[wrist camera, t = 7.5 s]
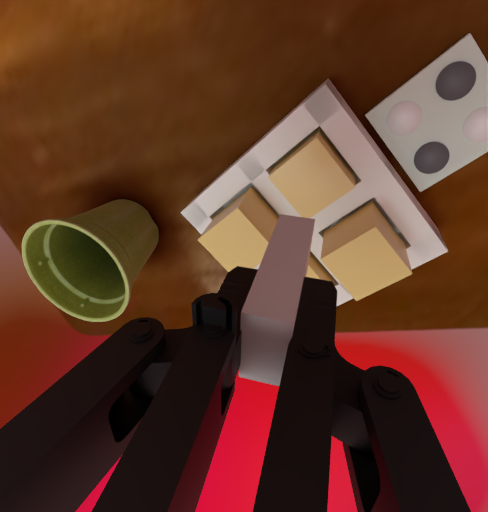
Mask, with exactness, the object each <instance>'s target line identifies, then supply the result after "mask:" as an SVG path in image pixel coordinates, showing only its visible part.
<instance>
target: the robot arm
mask: <svg viewBox="0 0 488 512" xmlns="http://www.w3.org/2000/svg"><path fill="white" fill-rule="evenodd" d="M314 224H315V219H311V218H304V217H297V216H290V215H283V214H280V216H279V219H278V221H277V224H276V226H275V229H274V231H273V234H272V236H271V239H270V241H269V244H268V246H267V249H266V251H265V254H264V256H263V259H262V261H261V264H260V266H259V269H252V268H246V267H240V266H237V267H235V268H234V269H232V270H231V271H230V272H228V274H227V276H226V278H225V280H224V282H223V283H222V285H221V287H220V290H219V291H218V293H210V294H205V295H202V296H200V297H198V298H196V299H195V300H194V302H193V303H192V317H193V326H192V327H188V328H183V329H168V330H165V329H164V327H163V325H162V323H161V322H159V321H158V320H157V319H153V318H149V317H147V318H138V319H134V320H131V321H130V322H128V323H126V324H125V325H123V326H122V327H121V328H120V329H119V330H117V331H116V332H115V333H114V334H113V335H111V336H110V337H109V338H108V339H107V340H106V341H104V342H103V343H102V344H101V345H100V346H98V347H97V348H96V349H95V350H94V351H93V352H91V353H90V354H89V355H88V356H87V357H85V358H84V359H83V360H82V361H81V362H80V363H78V364H77V365H76V366H75V367H74V368H72V369H71V370H70V371H69V372H68V373H66V374H65V375H64V376H63V377H62V378H60V379H59V380H58V381H57V382H56V383H54V384H53V385H52V386H51V387H50V388H48V389H47V390H46V391H45V392H44V393H43V394H41V395H40V396H39V397H38V398H37V399H36V400H34V401H33V402H32V403H31V404H30V405H28V406H27V407H26V408H25V409H24V410H22V411H21V412H20V413H19V414H18V415H16V416H15V417H14V418H13V419H12V420H10V421H9V422H8V423H7V424H6V425H4V426H3V427H2V428H1V429H0V512H75V511H76V510H77V509H78V508H79V506H80V505H81V504H82V503H83V502H84V500H85V499H86V498H87V497H88V495H89V494H90V493H91V492H92V491H93V489H94V488H95V487H96V485H98V483H99V482H100V481H101V480H102V478H103V477H104V476H105V475H106V474H107V472H108V471H109V470H110V469H111V467H112V466H113V465H114V464H115V463H116V462H117V460H118V459H119V458H120V457H121V455H122V454H123V455H122V457H121V459H120V460H119V462H118V464H117V466H116V468H115V470H114V472H113V473H112V475H111V477H110V479H109V481H108V482H107V484H106V486H105V488H104V490H103V492H102V494H101V495H100V497H99V499H98V501H97V503H96V505H95V506H94V508H93V510H92V512H195V510H196V507H197V504H198V501H199V498H200V495H201V492H202V489H203V485H204V483H205V479H206V477H207V473H208V471H209V468H210V464H211V461H212V458H213V455H214V452H215V449H216V446H217V443H218V440H219V437H220V434H221V431H222V427H223V425H224V422H225V419H226V415H227V412H228V409H229V406H230V403H231V400H232V397H233V394H234V390H235V378H236V375H237V372H238V370H239V377H243V378H247V379H251V380H255V381H260V382H264V383H268V384H272V385H277V386H279V391H278V395H277V400H276V405H275V410H274V415H273V419H272V424H271V429H270V433H269V438H268V443H267V447H266V452H265V457H264V462H263V466H262V472H261V476H260V481H259V485H258V490H257V495H256V500H255V504H254V509H253V512H327V503H328V485H329V468H330V449H331V435H332V436H334V437H335V438H337V439H338V440H340V441H342V442H343V447H344V452H345V456H346V461H347V465H348V470H349V474H350V479H351V484H352V488H353V493H354V497H355V502H356V506H357V511H358V512H471V511H470V509H469V507H468V504H467V502H466V500H465V498H464V496H463V493H462V491H461V489H460V487H459V484H458V482H457V480H456V478H455V476H454V473H453V471H452V469H451V467H450V465H449V463H448V460H447V458H446V456H445V454H444V451H443V449H442V447H441V445H440V443H439V440H438V438H437V436H436V434H435V432H434V429H433V427H432V425H431V423H430V421H429V419H428V416H427V414H426V412H425V410H424V408H423V405H422V403H421V401H420V399H419V397H418V394H417V392H416V390H415V388H414V386H413V385H412V383H411V382H410V380H409V379H408V378H406V377H405V376H404V375H403V374H402V373H401V372H398V371H397V370H394V369H392V368H390V367H385V366H374V367H370V368H369V369H367V370H365V371H364V370H362V369H360V368H358V367H356V366H354V365H352V364H350V363H349V362H347V361H346V360H345V359H344V358H343V357H341V355H340V354H339V353H338V351H337V349H336V347H335V341H334V339H335V323H336V306H337V289H336V288H335V286H334V284H333V282H332V281H327V280H321V279H315V278H310V277H306V275H307V269H308V262H309V256H310V250H311V243H312V237H313V230H314Z"/></svg>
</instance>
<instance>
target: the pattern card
mask: <svg viewBox="0 0 488 512" xmlns="http://www.w3.org/2000/svg"><path fill="white" fill-rule="evenodd" d="M365 116H366V118H367V119H368V120H369V122H370V123H371V125H372V126H373V127H374V129H375V130H376V132H377V133H378V134H379V136H380V137H381V138H382V140H383V141H384V143H385V144H386V145H387V147H388V148H389V150H390V151H391V152H392V154H393V155H394V157H395V158H396V159H397V161H398V162H399V163H400V165H401V166H402V168H403V169H404V170H405V172H406V173H407V175H408V176H409V177H410V179H411V180H412V182H413V183H414V184H415V186H416V187H417V188H418V190H419V191H420V192H422V191H423V190H425V189H427V188H428V187H430V186H432V185H433V184H435V183H437V182H438V181H440V180H442V179H443V178H445V177H447V176H448V175H450V174H452V173H453V172H455V171H457V170H458V169H460V168H462V167H463V166H465V165H467V164H468V163H470V162H472V161H473V160H475V159H477V158H478V157H480V156H481V155H483V154H485V153H486V152H488V62H487V60H486V59H485V57H484V55H483V54H482V52H481V50H480V49H479V47H478V45H477V44H476V42H475V40H474V39H473V37H472V35H471V33H468V34H467V35H466V36H464V37H463V38H462V39H460V40H459V41H458V42H457V43H455V44H454V45H453V46H452V47H450V48H449V49H448V50H446V51H445V52H444V53H443V54H441V55H440V56H439V57H437V58H436V59H435V60H434V61H432V62H431V63H430V64H429V65H427V66H426V67H425V68H423V69H422V70H421V71H420V72H418V73H417V74H416V75H414V76H413V77H412V78H411V79H409V80H408V81H407V82H406V83H404V84H403V85H402V86H400V87H399V88H398V89H397V90H395V91H394V92H393V93H391V94H390V95H389V96H388V97H386V98H385V99H384V100H383V101H381V102H380V103H379V104H377V105H376V106H375V107H374V108H372V109H371V110H370V111H368V112H367V113H366V114H365Z"/></svg>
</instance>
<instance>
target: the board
mask: <svg viewBox="0 0 488 512" xmlns="http://www.w3.org/2000/svg"><path fill="white" fill-rule="evenodd" d="M318 126H320V127H321V128H322V130H323V131H324V132H325V134H326V135H327V136H328V138H329V139H330V140H331V142H332V143H333V144H334V145H335V147H336V148H337V149H338V151H339V152H340V153H341V155H342V156H343V157H344V159H345V160H346V161H347V162H348V164H349V165H350V166H351V168H352V169H353V170H354V172H355V188H354V189H352V190H351V191H349V192H348V193H346V194H345V195H343V196H342V197H340V198H339V199H337V200H336V201H334V202H333V203H331V204H330V205H328V206H327V207H326V208H324V209H323V210H321V211H320V212H318V213H317V214H315V215H314V216H312V217H311V219H315V224H314V230H313V237H312V243H311V250H310V251H311V252H312V253H313V254H314V255H315V257H316V258H317V259H318V260H319V261H320V262H321V263H322V265H323V266H324V267H325V268H326V269H327V270H328V272H329V273H330V274H331V275H332V276H333V277H334V286H335V288H336V289H337V306H338V305H340V304H342V303H344V302H346V301H348V300H350V299H353V297H352V295H351V294H350V293H349V292H348V291H347V290H346V288H345V287H344V286H343V285H342V284H341V283H340V281H339V280H338V279H337V278H336V277H335V276H334V275H333V273H332V272H331V271H330V270H329V269H328V268H327V266H326V265H325V264H324V263H323V262H322V261H321V259H320V258H321V251H322V244H323V236H324V231H326V230H327V229H329V228H331V227H332V226H334V225H335V224H337V223H338V222H340V221H342V220H343V219H345V218H346V217H348V216H350V215H351V214H353V213H354V212H356V211H357V210H359V209H361V208H362V207H364V206H365V205H367V204H368V203H370V202H372V201H373V203H374V204H375V205H376V207H377V208H378V209H379V211H380V212H381V213H382V214H383V216H384V217H385V218H386V220H387V221H388V222H389V224H390V225H391V226H392V227H393V229H394V230H395V231H396V233H397V234H398V235H399V237H400V238H401V239H402V241H403V242H404V243H405V247H406V251H407V255H408V258H409V262H410V266H411V269H414V268H416V267H418V266H420V265H422V264H424V263H426V262H428V261H430V260H432V259H434V258H436V257H438V256H440V255H442V254H444V253H446V252H448V250H447V247H446V245H445V243H444V241H443V239H442V236H441V234H440V232H439V230H438V228H437V227H436V225H435V224H434V222H433V221H432V220H431V218H430V217H429V216H428V214H427V213H426V211H425V210H424V209H423V207H422V206H421V205H420V203H419V202H418V200H417V199H416V198H415V196H414V195H413V194H412V192H411V191H410V189H409V188H408V187H407V185H406V184H405V183H404V181H403V180H402V178H401V177H400V176H399V174H398V173H397V172H396V170H395V169H394V167H393V166H392V165H391V163H390V162H389V161H388V159H387V158H386V156H385V155H384V154H383V152H382V151H381V150H380V148H379V147H378V145H377V144H376V143H375V141H374V140H373V139H372V137H371V136H370V134H369V133H368V132H367V130H366V129H365V128H364V126H363V125H362V123H361V122H360V121H359V119H358V118H357V117H356V115H355V114H354V113H353V111H352V110H351V108H350V107H349V106H348V104H347V103H346V102H345V100H344V99H343V97H342V96H341V95H340V93H339V92H338V91H337V89H336V88H335V86H334V85H333V84H332V82H331V81H330V80H329V78H328V79H327V80H326V81H324V82H323V83H322V84H321V85H320V86H319V87H318V88H317V89H316V90H314V91H313V92H312V93H311V94H310V95H309V96H308V97H307V98H305V99H304V100H303V101H302V102H301V103H300V104H299V105H298V106H297V107H295V108H294V109H293V110H292V111H291V112H290V113H289V114H288V115H287V116H285V117H284V118H283V119H282V120H281V121H280V122H279V123H278V124H276V125H275V126H274V127H273V128H272V129H271V130H270V131H269V132H268V133H266V134H265V135H264V136H263V137H262V138H261V139H260V140H259V141H257V142H256V143H255V144H254V145H253V146H252V147H251V148H250V149H249V150H247V151H246V152H245V153H244V154H243V155H242V156H241V157H240V158H238V159H237V160H236V161H235V162H234V163H233V164H232V165H231V166H230V167H228V168H227V169H226V170H225V171H224V172H223V173H222V174H221V175H220V176H218V177H217V178H216V179H215V180H214V181H213V182H212V183H211V184H209V185H208V186H207V187H206V188H205V189H204V190H203V191H202V192H201V193H199V194H198V195H197V196H196V197H195V198H194V199H193V200H192V201H191V202H190V203H189V204H188V205H187V206H186V207H185V208H184V210H183V211H182V212H181V214H182V215H183V216H184V217H185V218H186V219H187V220H188V221H189V222H190V223H191V224H192V225H193V226H194V227H195V228H196V229H197V230H198V232H199V233H200V234H202V233H203V232H204V230H205V229H206V228H207V226H208V225H209V224H210V222H211V221H212V220H213V218H214V217H215V216H216V215H217V214H218V213H220V212H221V211H222V210H223V209H225V208H226V207H227V206H228V205H229V204H231V203H232V202H233V201H234V200H236V199H237V198H238V197H239V196H240V195H242V194H243V193H244V192H245V191H247V190H248V189H249V188H250V187H251V186H252V187H253V188H254V189H255V190H256V191H257V193H258V194H259V195H260V196H261V197H262V198H263V200H264V201H265V202H266V203H267V204H268V205H269V207H270V208H271V209H272V210H273V211H274V212H275V213H276V215H277V216H278V217H279V216H280V214H283V215H290V216H297V217H301V216H300V215H299V213H298V212H297V211H296V210H295V209H294V207H293V206H292V205H291V204H290V203H289V202H288V200H287V199H286V198H285V197H284V196H283V194H282V193H281V192H280V191H279V190H278V188H277V187H276V186H275V185H274V184H273V183H272V181H271V180H270V179H269V178H268V176H269V174H270V173H271V171H272V169H273V168H274V166H275V164H276V162H277V161H278V160H279V159H280V158H281V157H282V156H283V155H285V154H286V153H287V152H288V151H289V150H291V149H292V148H293V147H294V146H295V145H297V144H298V143H299V142H300V141H302V140H303V139H304V138H305V137H306V136H308V135H309V134H310V133H311V132H312V131H314V130H315V129H316V128H317V127H318ZM260 264H261V263H260ZM260 264H259V265H257V266H256V267H254V268H253V269H259V266H260Z"/></svg>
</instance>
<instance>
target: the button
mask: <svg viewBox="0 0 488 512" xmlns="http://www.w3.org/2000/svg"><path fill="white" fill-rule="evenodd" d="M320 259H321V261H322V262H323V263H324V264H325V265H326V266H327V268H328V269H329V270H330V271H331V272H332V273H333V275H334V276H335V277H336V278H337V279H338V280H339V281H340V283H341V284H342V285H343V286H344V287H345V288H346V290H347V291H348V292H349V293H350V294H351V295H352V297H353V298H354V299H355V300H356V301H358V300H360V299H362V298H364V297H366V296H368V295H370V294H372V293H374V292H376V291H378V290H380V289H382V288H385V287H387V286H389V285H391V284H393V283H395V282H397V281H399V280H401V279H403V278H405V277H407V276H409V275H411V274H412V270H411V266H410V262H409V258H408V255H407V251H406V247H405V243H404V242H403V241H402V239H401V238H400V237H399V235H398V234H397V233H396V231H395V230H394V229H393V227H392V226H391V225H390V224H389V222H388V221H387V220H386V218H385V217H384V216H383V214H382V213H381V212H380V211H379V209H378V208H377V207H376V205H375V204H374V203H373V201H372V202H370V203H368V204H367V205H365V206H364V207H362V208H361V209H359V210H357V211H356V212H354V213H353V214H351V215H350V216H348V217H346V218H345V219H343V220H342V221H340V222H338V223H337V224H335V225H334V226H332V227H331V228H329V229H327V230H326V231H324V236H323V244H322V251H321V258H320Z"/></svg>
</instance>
